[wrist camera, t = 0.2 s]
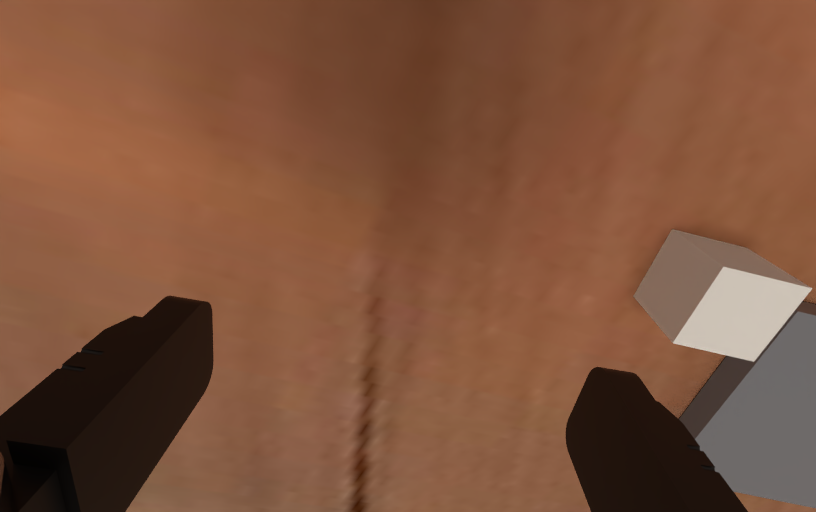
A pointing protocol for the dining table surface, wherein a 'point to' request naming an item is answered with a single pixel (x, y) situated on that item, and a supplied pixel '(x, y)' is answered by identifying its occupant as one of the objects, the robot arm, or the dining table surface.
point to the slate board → (764, 416)
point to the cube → (718, 295)
